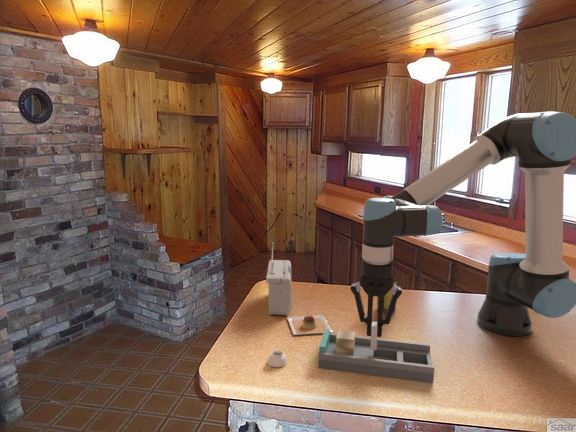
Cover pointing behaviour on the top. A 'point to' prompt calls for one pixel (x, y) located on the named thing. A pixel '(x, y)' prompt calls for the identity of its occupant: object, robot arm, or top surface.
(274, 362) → the white jar
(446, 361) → the top surface
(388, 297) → the sauce bottle
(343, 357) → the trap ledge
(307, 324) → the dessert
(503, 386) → the top surface
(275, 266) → the stereo radio cassette player
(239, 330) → the top surface
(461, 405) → the top surface
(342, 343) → the maple block
